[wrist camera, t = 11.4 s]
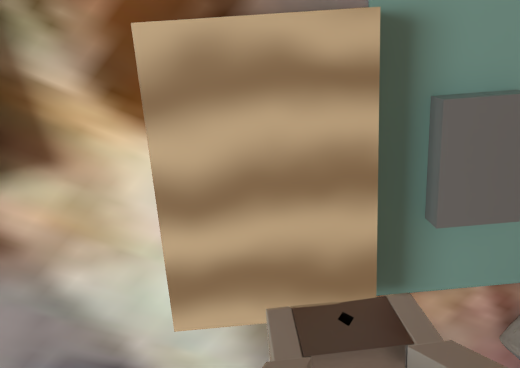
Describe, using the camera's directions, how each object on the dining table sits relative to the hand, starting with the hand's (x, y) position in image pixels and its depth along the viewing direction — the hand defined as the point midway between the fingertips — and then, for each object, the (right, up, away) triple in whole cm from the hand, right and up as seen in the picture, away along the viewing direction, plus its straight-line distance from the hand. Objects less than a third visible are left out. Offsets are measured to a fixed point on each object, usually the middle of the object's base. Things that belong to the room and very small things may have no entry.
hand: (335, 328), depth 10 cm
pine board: (-1, +4, +23) cm, 23 cm away
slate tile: (+13, +4, +22) cm, 26 cm away
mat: (+13, +5, +24) cm, 28 cm away
